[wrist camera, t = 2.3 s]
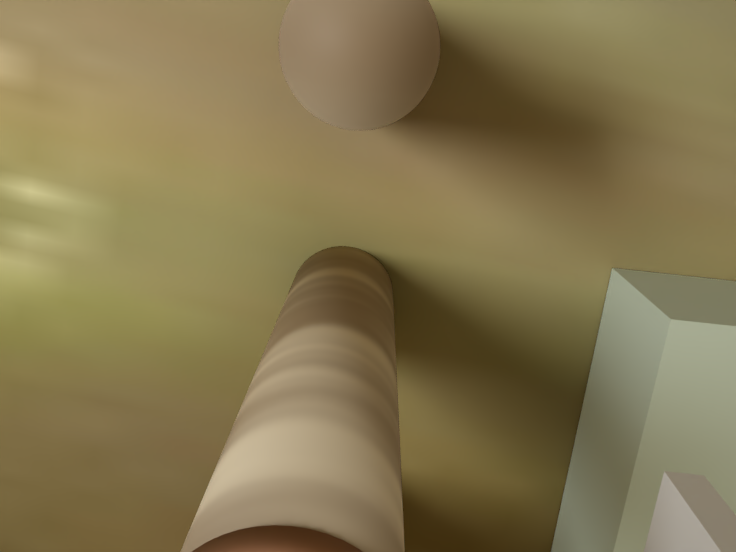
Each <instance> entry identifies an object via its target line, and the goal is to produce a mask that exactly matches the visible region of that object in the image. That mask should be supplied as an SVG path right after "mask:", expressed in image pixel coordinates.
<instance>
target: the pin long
mask: <svg viewBox="0 0 736 552" xmlns="http://www.w3.org/2000/svg"><path fill="white" fill-rule="evenodd" d="M181 552H405V546H404V524H403V502H402V479H401V457H400V435H399V413H398V391H397V368H396V346H395V324H394V302H393V287H392V283H391V280H390V277H389V275H388V273H387V271H386V270H385V268H384V267H383V265H382V264H381V263H380V262H379V261H378V260H377V259H376V258H374V257H373V256H372V255H370V254H368V253H367V252H365V251H362V250H360V249H357V248H353V247H346V246H338V247H331V248H327V249H324V250H321V251H319V252H317V253H315V254H314V255H312V256H311V257H310V258H308V259H307V260H306V261H305V262H304V263H303V265H302V266H301V267H300V269H299V270H298V272H297V274H296V276H295V279H294V281H293V283H292V286H291V288H290V291H289V293H288V295H287V298H286V300H285V303H284V305H283V307H282V310H281V312H280V315H279V317H278V319H277V322H276V324H275V327H274V329H273V331H272V334H271V336H270V339H269V341H268V343H267V346H266V348H265V351H264V353H263V355H262V358H261V360H260V363H259V365H258V367H257V370H256V372H255V375H254V377H253V379H252V382H251V384H250V387H249V389H248V391H247V394H246V396H245V399H244V401H243V403H242V406H241V408H240V411H239V413H238V415H237V418H236V420H235V422H234V425H233V427H232V430H231V432H230V434H229V437H228V439H227V442H226V444H225V446H224V449H223V451H222V454H221V456H220V458H219V461H218V463H217V466H216V468H215V470H214V473H213V475H212V478H211V480H210V482H209V485H208V487H207V490H206V492H205V494H204V497H203V499H202V502H201V504H200V506H199V509H198V511H197V514H196V516H195V518H194V521H193V523H192V526H191V528H190V530H189V533H188V535H187V538H186V540H185V542H184V545H183V547H182V550H181Z"/></svg>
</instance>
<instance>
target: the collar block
mask: <svg viewBox="0 0 736 552" xmlns="http://www.w3.org/2000/svg"><path fill="white" fill-rule="evenodd" d="M664 471H668V472H677V473H686V474H695V475H704V476H705V477H706V479H707V480H708V481H709V482H710V484H711V485H712V486H713V487H714V489H715V490H716V491H717V492H718V494H719V495H720V496H721V497H722V499H723V500H724V501H725V502H726V504H727V505H728V506H729V507H730V509H731V510H732V511H733V512H734V514H735V515H736V281H729V280H720V279H711V278H701V277H692V276H683V275H674V274H664V273H655V272H646V271H636V270H627V269H618V268H612V271H611V276H610V281H609V285H608V290H607V295H606V299H605V304H604V308H603V313H602V318H601V322H600V327H599V332H598V336H597V341H596V345H595V350H594V355H593V359H592V364H591V368H590V373H589V378H588V382H587V387H586V392H585V396H584V401H583V405H582V410H581V415H580V419H579V424H578V428H577V433H576V438H575V442H574V447H573V452H572V456H571V461H570V465H569V470H568V475H567V479H566V484H565V489H564V493H563V498H562V502H561V507H560V512H559V516H558V521H557V525H556V530H555V535H554V539H553V544H552V549H551V552H644V549H645V545H646V541H647V537H648V533H649V529H650V525H651V521H652V517H653V513H654V509H655V505H656V502H657V498H658V494H659V490H660V486H661V482H662V478H663V474H664Z"/></svg>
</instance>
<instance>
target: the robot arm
mask: <svg viewBox="0 0 736 552" xmlns="http://www.w3.org/2000/svg"><path fill="white" fill-rule="evenodd" d="M644 552H736V515H735V514H734V512H733V511H732V510H731V509H730V507H729V506H728V505H727V504H726V502H725V501H724V500H723V499H722V497H721V496H720V495H719V494H718V492H717V491H716V490H715V489H714V487H713V486H712V485H711V484H710V482H709V481H708V480H707V479H706V477H705V476H704V475H695V474H686V473H677V472H668V471H664V474H663V478H662V482H661V486H660V490H659V494H658V498H657V502H656V505H655V509H654V513H653V517H652V521H651V525H650V529H649V533H648V537H647V541H646V545H645V549H644Z"/></svg>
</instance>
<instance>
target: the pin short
mask: <svg viewBox="0 0 736 552" xmlns="http://www.w3.org/2000/svg"><path fill="white" fill-rule="evenodd" d="M279 56H280V63H281V67H282V71H283V74H284V77H285V79H286V82H287V84H288V86H289V88H290V89H291V91H292V93H293V94H294V96H295V97H296V98H297V100H298V101H299V102H300V103H301V104H302V105H303V107H304V108H305V109H306V110H308V111H309V112H310V113H311V114H312V115H314V116H315V117H317V118H318V119H320V120H322V121H323V122H326V123H328V124H330V125H332V126H335V127H338V128H342V129H347V130H358V131H363V130H373V129H377V128H382V127H384V126H387V125H390V124H392V123H394V122H396V121H398V120H400V119H401V118H403V117H404V116H406V115H407V114H408V113H410V112H411V111H412V110H413V109H414V108H415V107H416V106H417V105H418V104H419V103H420V101H421V100H422V99H423V98H424V96H425V95H426V93H427V92H428V90H429V89H430V86H431V84H432V82H433V80H434V78H435V75H436V72H437V69H438V64H439V58H440V33H439V28H438V23H437V20H436V17H435V14H434V11H433V9H432V7H431V5H430V3H429V1H428V0H291V1H290V3H289V5H288V6H287V9H286V11H285V14H284V16H283V19H282V23H281V27H280V34H279Z"/></svg>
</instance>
